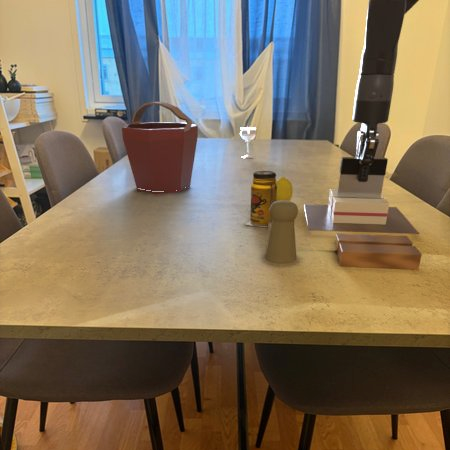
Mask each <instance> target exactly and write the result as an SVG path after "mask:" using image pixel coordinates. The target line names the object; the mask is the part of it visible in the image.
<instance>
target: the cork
mask: <svg viewBox="0 0 450 450" xmlns="http://www.w3.org/2000/svg"><path fill="white" fill-rule="evenodd" d="M298 214H299V209H298V206H297V204H296V202H294V201H291V200H290V201H285V200H282V201H276V202H274V203H272V205H271V206H270V216H271V218H272V222H270V223H271V224H270V229H269V234H268V240H267V245H266V252H265V257H264V259H265V260H266V261H268V262H271V263H274V264H283V265H284V264H291V263H294V262H295V261H296V260H297V247H296V229H295V220H296V218H297V217H298Z"/></svg>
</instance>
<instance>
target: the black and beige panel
mask: <svg viewBox="0 0 450 450" xmlns="http://www.w3.org/2000/svg"><path fill="white" fill-rule="evenodd" d="M365 158H369V157H365ZM359 161H360V157H356V156H341V157H340V166H339V177H338V178H339V179H338V185H337V189H338V193H337V198H366V199H381V194H382V192H383V187H384V181H385V176H386V173H387V167H388V161H389V159H388V158H387V157H374V162H373V164H372V163H371V165H370V168H369V175H368V181H367V182H359V181H358V180H357V179H358V172H359Z"/></svg>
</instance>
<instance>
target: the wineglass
mask: <svg viewBox="0 0 450 450" xmlns="http://www.w3.org/2000/svg"><path fill="white" fill-rule="evenodd" d="M256 129H257V128H256V127H250V126H249V127H248V126H247V127H240V130H241V131H240V133H239V135H240V137H241V139H242V140H244V141H245V142H246V155H244V156H241V158H243V159H253V158H254V157H253V156H251V155H249V147H250V142H251V141H252V140H254V139H255V137H256V135H257V131H256Z"/></svg>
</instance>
